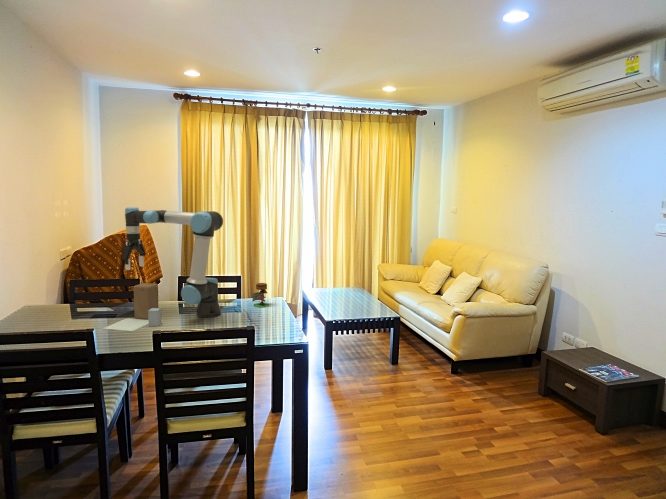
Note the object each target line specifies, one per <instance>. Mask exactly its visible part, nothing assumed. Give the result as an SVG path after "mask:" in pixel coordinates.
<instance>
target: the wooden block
mask: <svg viewBox="0 0 666 499" xmlns="http://www.w3.org/2000/svg"><path fill="white" fill-rule="evenodd" d="M133 303H134V304H133V306H134V307H133V309H134V310H133V312H134V319H142V320H149V319H148V310H150V309H152V308H159V284H158V283H150V282H149V283H148V282H143V283H139V284H136V285H134V286H133Z"/></svg>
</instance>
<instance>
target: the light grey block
mask: <svg viewBox="0 0 666 499" xmlns="http://www.w3.org/2000/svg"><path fill="white" fill-rule="evenodd" d="M148 319H149V324H148V327H159V326H160V325H161V324H162V308H159V307H158V308H152V309H150V310H148ZM158 325H159V326H158Z"/></svg>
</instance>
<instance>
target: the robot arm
mask: <svg viewBox="0 0 666 499" xmlns="http://www.w3.org/2000/svg"><path fill="white" fill-rule="evenodd" d="M124 219H125V220H124V221H125V232H126V240H127V241H125V242H124V245H123V246H124V248H123V251H122V255H121V258H122V259H123V260H124V267H125V268H124V269H125V270H126V271H130V270H131V258H130V256H131V255H132V252H133V250H134V249H135V250H136V252H137V253H138V264H139V265H138V266H139V267H145V256H146V255H147V253H146V249H145V247H144V244H143V240H141V227H140V224H149V225H150V224H156V223H161V224H162V223H164V224H174V225H188V226H190V228H191V230H192V235H193V236H194V242H193V250H192V257H191V264H190V273H189V277H188V278H186V283H185V285H184V286H183V288H181V292H180V296H181V298H182V300H183V302H185V303H186V304H187V305H190V306H191V305H196V306H197V307H196V309H195V316H196V317H198V318H205V319H206V318H215V317H219V316H221V315H222V309H221V306H220V303H219V280H218V278H215V277H206V274H207V268H208V262H209V261H208V260H209V253H210V245H211V239H212V238H214V237H215V236H214V235H215V231H218V230H220V229H221V228H222V227H223V225H224V219H223V216H222V214H220V213H219V212H218V211H215V210H213V211H212V210H211V211H208V210H207V211H198V212H191V211H190V212H188V211H187V212H185V211H175V210H167V209H166V210H165V209H159V210H139V207H131V206H130V207H129V206H128V207H125V208H124Z"/></svg>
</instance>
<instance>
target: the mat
mask: <svg viewBox="0 0 666 499" xmlns="http://www.w3.org/2000/svg"><path fill="white" fill-rule="evenodd" d="M146 326H149V320H145V319H136V318H130V317H129V318H126V317H125V319H122V320H119V321H117V322H114V323H112V324H109V325H108V326H107V325H106V326H105V327H102V330H106V331H107V330H108V331H117V332H118V331H119V332H130V333H131V332H132V333H133V332H136V331H138V330H140V329H143V328H144V327H146Z"/></svg>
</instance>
